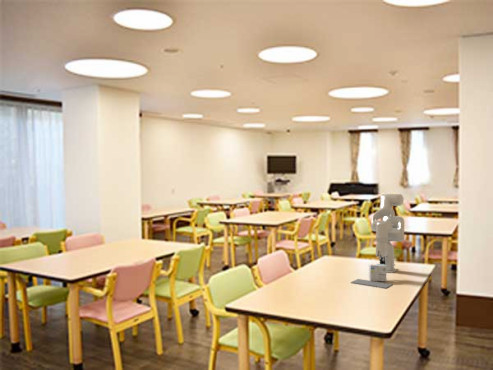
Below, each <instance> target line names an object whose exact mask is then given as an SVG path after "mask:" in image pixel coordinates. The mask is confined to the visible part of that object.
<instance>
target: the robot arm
mask: <svg viewBox="0 0 493 370" xmlns="http://www.w3.org/2000/svg"><path fill="white" fill-rule="evenodd" d="M404 201H405V200H404V196H403V194H401V193H399V194H398V193H397V194H395V193H394V194H393V193H392V194H391V193H388V194H387V193H385V194H381V195H380V197H379V203H380V204H379V210H377V211H376V212H374V213H373V215H372V216H371V222H370V229H371V230H372V231H373V232H375V233H376V234H375V235H376V236H375V237H376V239H375V240H376V241H375V242H376V245H375V257H378V258H377V259H378V260H379V264H385V265H386V273H396V272H397V269H396V268H395V266H396V264H395V248H394V247H395V246H394V245H393V243H392V242H403V241H404V237H405V219H404V217H402V216H396V215H395V210H394V209H393V207H394V206H395V207H401V206H403V204H404ZM380 219H381V220H380Z"/></svg>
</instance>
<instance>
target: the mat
mask: <svg viewBox="0 0 493 370" xmlns="http://www.w3.org/2000/svg"><path fill="white" fill-rule="evenodd" d="M350 284H355V285H359V286H360V285H361V286H367V287H373V288H379V289H380V288H381V289H385V290H386V289H388V288H390V287H392V286H393V284H392V283H388V282H383V281H370V280H369V279H362V278H357V279H355V280H353V281H351V282H350Z"/></svg>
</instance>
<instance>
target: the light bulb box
mask: <svg viewBox="0 0 493 370" xmlns="http://www.w3.org/2000/svg"><path fill="white" fill-rule="evenodd" d="M368 280H369V281H375V282H387V272H386V265H385V264H380V263H369V264H368Z"/></svg>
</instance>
